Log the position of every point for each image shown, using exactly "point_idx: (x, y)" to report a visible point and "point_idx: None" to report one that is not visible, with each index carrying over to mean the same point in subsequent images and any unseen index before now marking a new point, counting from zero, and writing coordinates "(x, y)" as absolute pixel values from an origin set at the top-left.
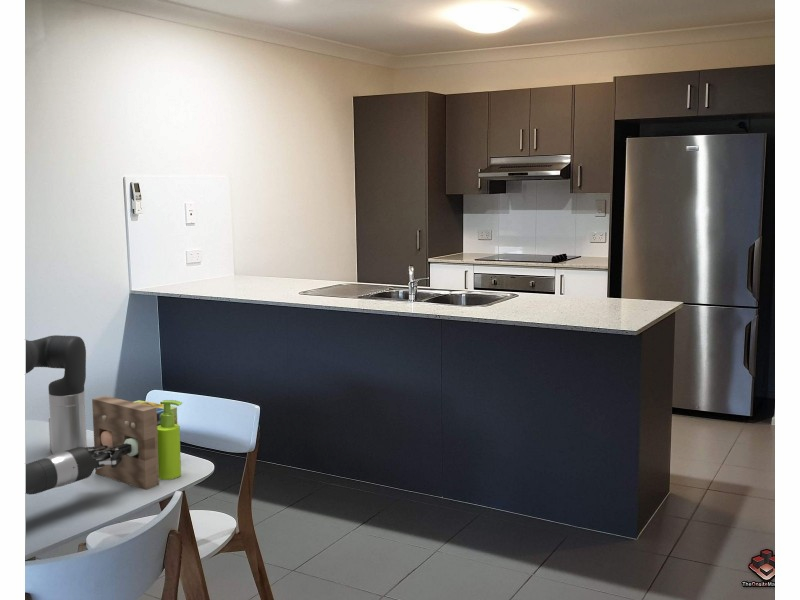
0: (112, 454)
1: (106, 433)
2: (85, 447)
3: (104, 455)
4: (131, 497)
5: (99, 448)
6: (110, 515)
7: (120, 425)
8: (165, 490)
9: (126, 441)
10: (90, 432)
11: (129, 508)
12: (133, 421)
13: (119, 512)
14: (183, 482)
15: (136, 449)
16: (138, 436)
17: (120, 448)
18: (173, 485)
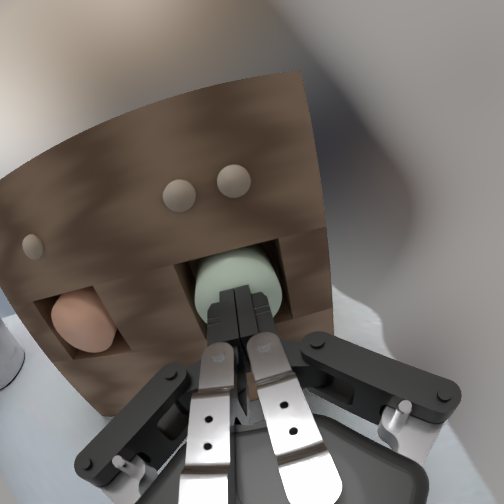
0: (243, 384)
1: (69, 305)
2: (83, 451)
3: (359, 447)
4: (371, 428)
5: (208, 429)
6: (482, 500)
7: (131, 230)
8: (372, 341)
9: (209, 284)
10: (8, 317)
11: (460, 445)
12: (227, 159)
13: (475, 474)
14: (341, 300)
15: (280, 289)
16: (281, 225)
17: (258, 330)
18: (347, 319)
